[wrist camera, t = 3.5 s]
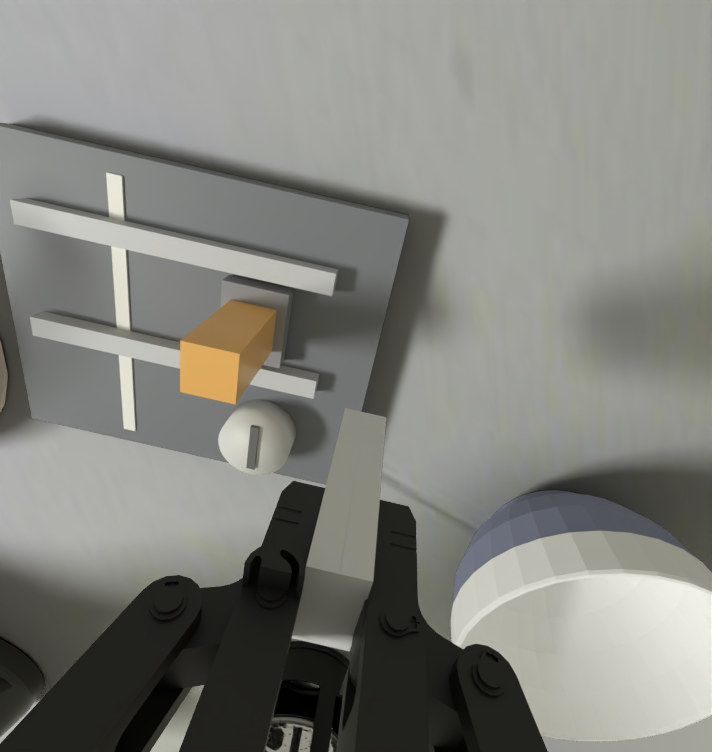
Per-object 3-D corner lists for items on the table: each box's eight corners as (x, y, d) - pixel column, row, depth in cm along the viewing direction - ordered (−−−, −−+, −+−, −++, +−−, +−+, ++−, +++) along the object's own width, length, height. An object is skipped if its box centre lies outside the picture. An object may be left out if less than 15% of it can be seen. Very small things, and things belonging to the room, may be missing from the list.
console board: (53, 403, 31) (5, 436, 27) (8, 123, 23) (-69, 116, 19) (345, 469, 31) (338, 511, 27) (408, 215, 23) (409, 225, 19)
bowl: (634, 418, 27) (740, 536, 18) (681, 576, 33) (779, 722, 24) (406, 492, 32) (407, 614, 23) (482, 620, 37) (506, 756, 29)
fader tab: (224, 347, 25) (167, 407, 19) (229, 274, 23) (167, 316, 17) (284, 360, 25) (246, 424, 19) (293, 289, 23) (254, 335, 17)
